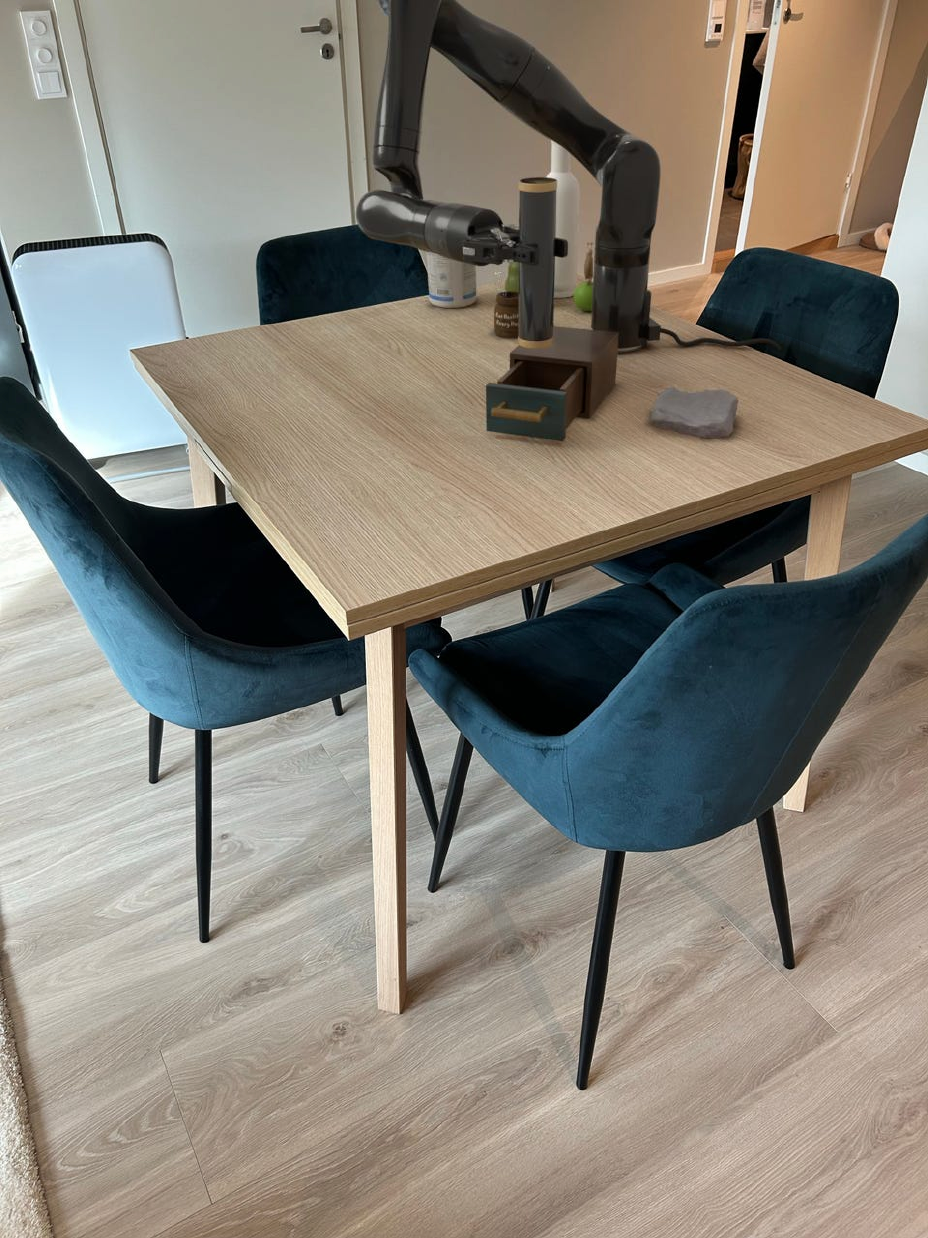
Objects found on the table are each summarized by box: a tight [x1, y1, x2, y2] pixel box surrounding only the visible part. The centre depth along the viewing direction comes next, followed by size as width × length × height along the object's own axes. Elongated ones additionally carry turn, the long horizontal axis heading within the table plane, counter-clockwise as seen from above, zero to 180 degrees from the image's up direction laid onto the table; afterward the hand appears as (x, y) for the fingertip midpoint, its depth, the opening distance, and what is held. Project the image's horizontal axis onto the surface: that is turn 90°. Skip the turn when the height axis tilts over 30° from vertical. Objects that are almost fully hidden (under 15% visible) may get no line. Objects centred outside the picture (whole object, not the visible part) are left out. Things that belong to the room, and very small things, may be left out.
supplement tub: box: [426, 252, 478, 309], centre depth 192 cm, size 10×10×15 cm
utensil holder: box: [493, 270, 519, 339], centre depth 175 cm, size 6×6×12 cm
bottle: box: [546, 140, 581, 299], centre depth 192 cm, size 8×8×30 cm
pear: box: [504, 262, 519, 292], centre depth 190 cm, size 6×5×10 cm
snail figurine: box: [572, 241, 594, 312], centre depth 186 cm, size 5×6×12 cm
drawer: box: [485, 360, 587, 442], centre depth 138 cm, size 17×11×7 cm, turn 158°
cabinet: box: [509, 325, 619, 420], centre depth 149 cm, size 15×13×9 cm
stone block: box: [650, 386, 739, 439], centre depth 140 cm, size 12×5×10 cm
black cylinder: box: [517, 176, 557, 349], centre depth 130 cm, size 5×5×21 cm
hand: (551, 252), depth 127 cm, fingers closed on black cylinder, 5 cm apart
